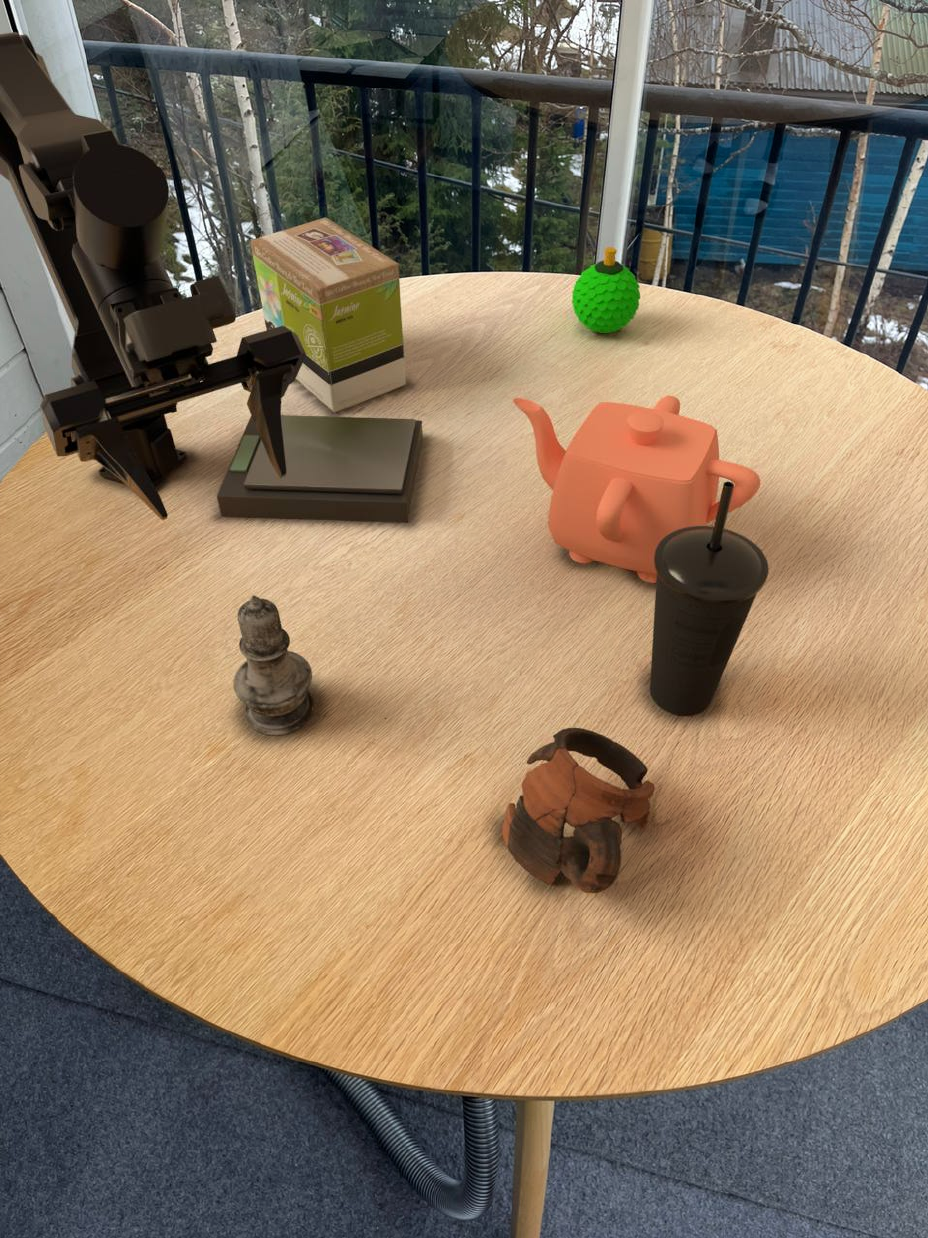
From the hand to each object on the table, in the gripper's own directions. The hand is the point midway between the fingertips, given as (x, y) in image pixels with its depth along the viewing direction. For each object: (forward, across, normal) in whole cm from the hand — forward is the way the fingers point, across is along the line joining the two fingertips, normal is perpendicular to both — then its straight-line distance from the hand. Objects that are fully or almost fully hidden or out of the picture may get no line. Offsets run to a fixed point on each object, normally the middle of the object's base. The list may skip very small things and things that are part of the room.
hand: (225, 496), depth 68 cm
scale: (-3, +15, +22) cm, 27 cm away
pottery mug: (+32, +10, -9) cm, 35 cm away
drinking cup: (+28, +25, -5) cm, 38 cm away
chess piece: (+16, -2, +6) cm, 17 cm away
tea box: (-16, +25, +34) cm, 45 cm away
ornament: (-10, +57, +28) cm, 64 cm away
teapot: (+15, +33, +6) cm, 37 cm away
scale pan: (-5, +16, +20) cm, 26 cm away
